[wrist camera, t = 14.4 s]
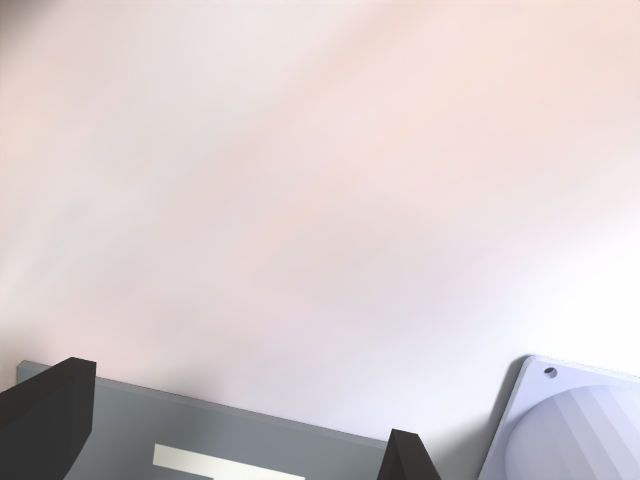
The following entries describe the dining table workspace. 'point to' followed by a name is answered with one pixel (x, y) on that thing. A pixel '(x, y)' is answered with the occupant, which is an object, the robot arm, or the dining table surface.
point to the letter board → (207, 441)
